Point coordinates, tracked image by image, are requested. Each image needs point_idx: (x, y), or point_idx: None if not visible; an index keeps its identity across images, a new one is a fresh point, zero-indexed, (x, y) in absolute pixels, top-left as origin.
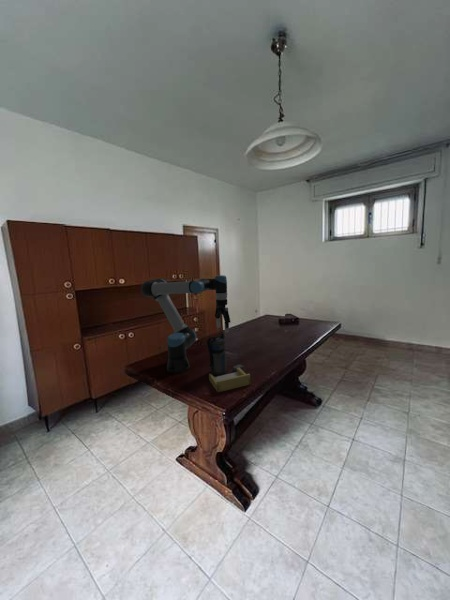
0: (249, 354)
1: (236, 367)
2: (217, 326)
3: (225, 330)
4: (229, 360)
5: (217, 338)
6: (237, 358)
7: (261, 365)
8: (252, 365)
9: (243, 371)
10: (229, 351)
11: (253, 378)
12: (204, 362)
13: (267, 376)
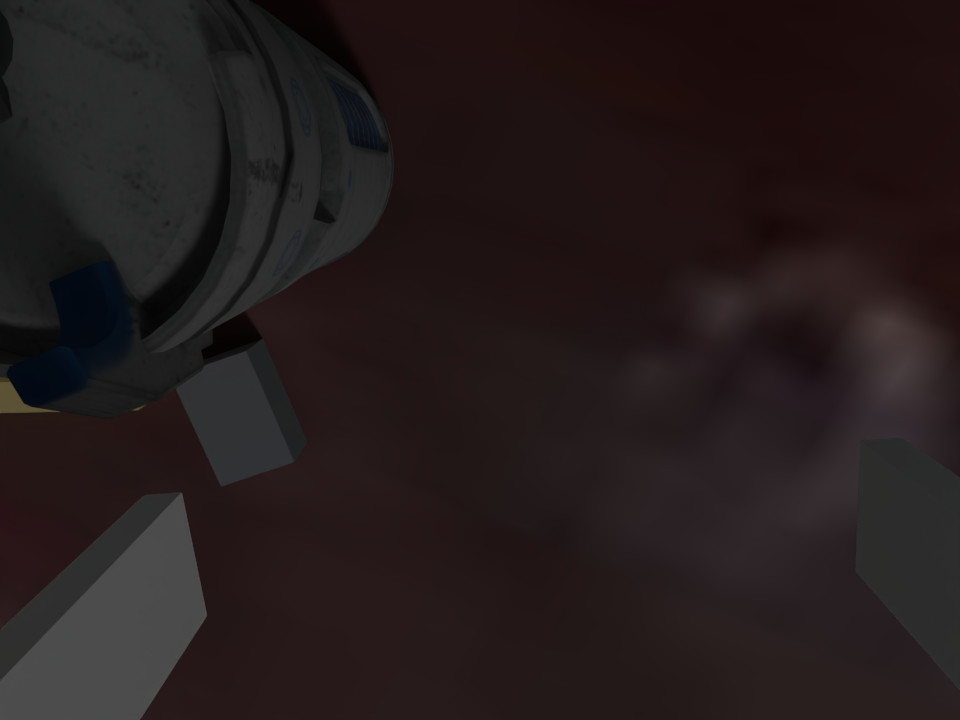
0: (642, 704)
1: (213, 390)
2: (886, 480)
3: (104, 546)
4: (585, 414)
5: (100, 182)
6: (596, 528)
7: (279, 685)
8: (319, 602)
9: (3, 412)
10: None
11: (3, 476)
12: (693, 64)
13: (4, 621)
